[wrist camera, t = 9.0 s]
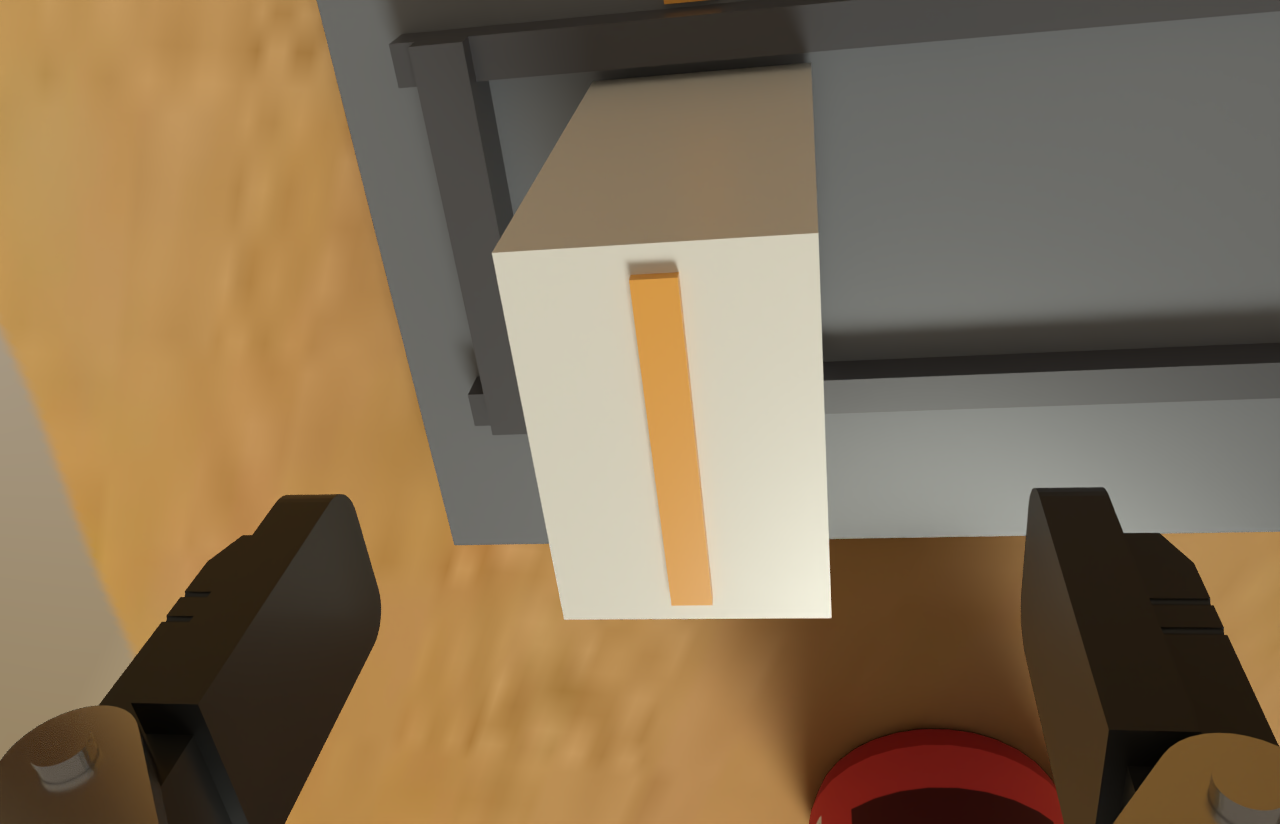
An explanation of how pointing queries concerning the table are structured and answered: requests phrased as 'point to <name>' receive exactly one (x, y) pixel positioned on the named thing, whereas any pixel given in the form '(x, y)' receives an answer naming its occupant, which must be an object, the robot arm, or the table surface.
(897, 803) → the canned food
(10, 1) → the table surface
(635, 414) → the block
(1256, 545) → the table surface
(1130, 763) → the robot arm
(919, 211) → the console
